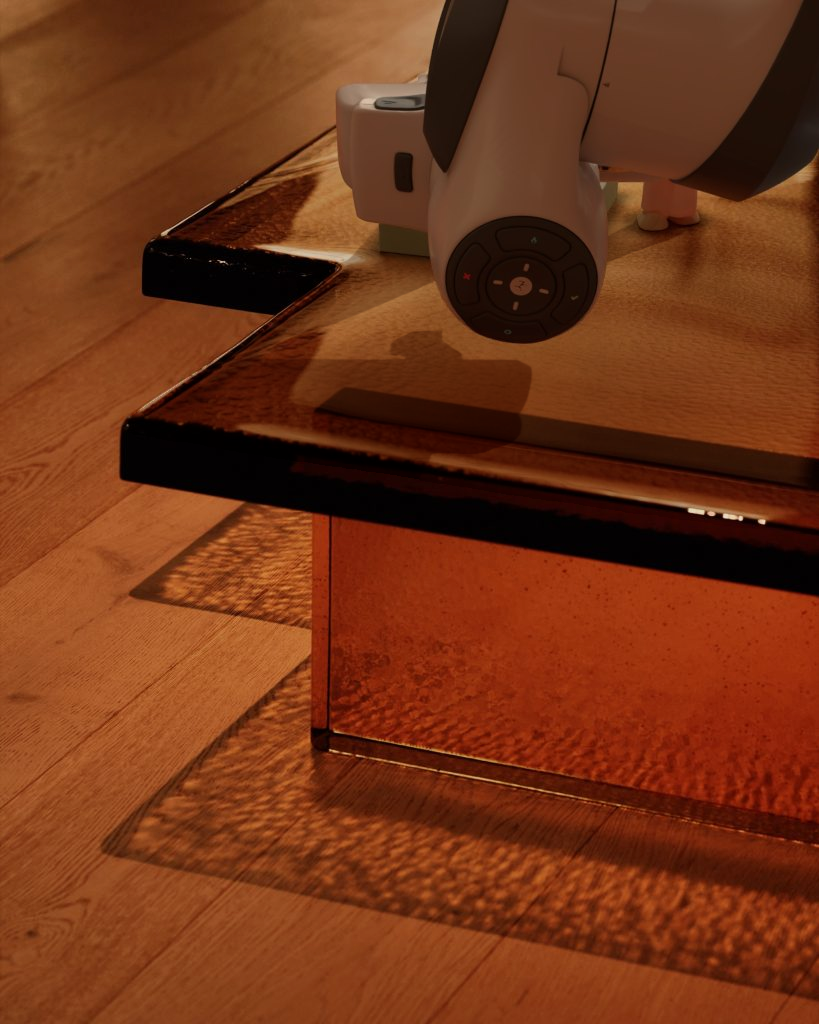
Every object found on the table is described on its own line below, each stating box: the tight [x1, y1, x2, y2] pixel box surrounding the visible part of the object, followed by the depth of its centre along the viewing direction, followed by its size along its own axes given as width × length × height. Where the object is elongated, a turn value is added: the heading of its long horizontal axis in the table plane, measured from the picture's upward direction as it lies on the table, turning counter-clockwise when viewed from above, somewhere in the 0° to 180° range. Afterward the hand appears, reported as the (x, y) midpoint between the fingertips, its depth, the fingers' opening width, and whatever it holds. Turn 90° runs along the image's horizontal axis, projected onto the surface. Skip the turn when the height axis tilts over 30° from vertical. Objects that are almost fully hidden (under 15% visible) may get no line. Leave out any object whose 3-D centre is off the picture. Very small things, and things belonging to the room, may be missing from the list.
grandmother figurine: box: [636, 179, 701, 232], centre depth 106 cm, size 8×4×13 cm, turn 123°
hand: (508, 86), depth 98 cm, fingers open, 8 cm apart
